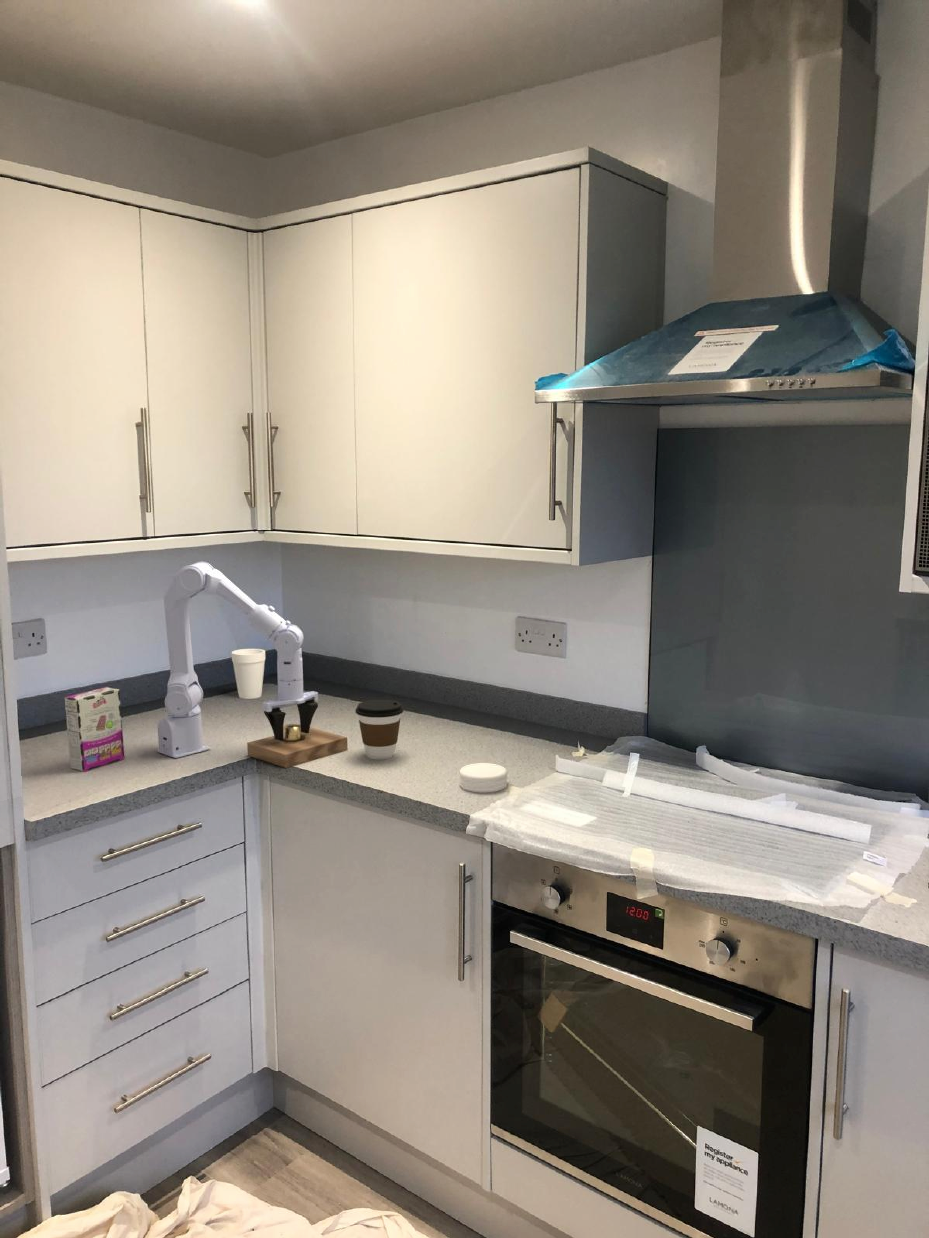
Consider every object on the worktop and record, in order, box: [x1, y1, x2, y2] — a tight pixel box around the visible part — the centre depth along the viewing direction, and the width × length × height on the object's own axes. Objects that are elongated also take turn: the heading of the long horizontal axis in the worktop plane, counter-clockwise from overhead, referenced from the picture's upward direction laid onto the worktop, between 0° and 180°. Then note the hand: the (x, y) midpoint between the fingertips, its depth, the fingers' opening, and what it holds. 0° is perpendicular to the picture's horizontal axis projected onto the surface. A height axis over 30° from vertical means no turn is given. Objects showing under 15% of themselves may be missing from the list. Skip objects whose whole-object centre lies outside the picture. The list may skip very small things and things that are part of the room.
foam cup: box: [231, 648, 266, 700], centre depth 278 cm, size 10×9×13 cm
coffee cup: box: [355, 699, 404, 760], centre depth 221 cm, size 11×11×12 cm
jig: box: [246, 726, 348, 769], centre depth 224 cm, size 18×14×3 cm
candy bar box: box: [63, 686, 125, 773], centre depth 215 cm, size 11×5×16 cm, turn 148°
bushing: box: [283, 723, 301, 742], centre depth 226 cm, size 4×4×6 cm
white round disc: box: [459, 762, 508, 794], centre depth 202 cm, size 10×10×4 cm
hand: (292, 735), depth 225 cm, fingers open, 7 cm apart
